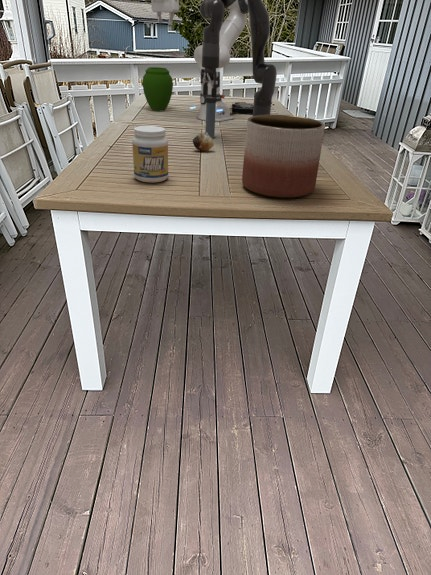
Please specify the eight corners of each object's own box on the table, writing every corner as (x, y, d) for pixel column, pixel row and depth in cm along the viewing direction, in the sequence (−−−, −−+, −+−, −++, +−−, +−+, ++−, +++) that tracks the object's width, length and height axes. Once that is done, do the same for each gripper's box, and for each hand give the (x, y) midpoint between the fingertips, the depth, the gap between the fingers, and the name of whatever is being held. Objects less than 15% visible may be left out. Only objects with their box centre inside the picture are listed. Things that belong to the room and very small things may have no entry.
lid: (218, 101, 200) (218, 97, 199) (213, 103, 195) (214, 98, 194) (208, 100, 201) (208, 96, 200) (203, 102, 197) (203, 97, 196)
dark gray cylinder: (215, 137, 208) (217, 98, 199) (212, 138, 205) (213, 99, 195) (207, 136, 210) (208, 97, 200) (203, 137, 206) (204, 98, 196)
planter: (325, 200, 135) (339, 130, 123) (251, 201, 131) (257, 128, 119) (299, 176, 156) (309, 114, 144) (234, 177, 152) (239, 113, 140)
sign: (232, 108, 269) (231, 101, 294) (232, 113, 270) (230, 106, 296) (261, 109, 269) (257, 102, 295) (260, 114, 271) (257, 107, 296)
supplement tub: (139, 184, 140) (136, 133, 131) (130, 174, 149) (127, 125, 140) (173, 181, 144) (172, 131, 135) (162, 172, 153) (161, 124, 144)
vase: (143, 107, 275) (142, 66, 262) (173, 108, 277) (172, 67, 264) (142, 112, 259) (140, 68, 246) (173, 113, 261) (173, 70, 248)
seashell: (212, 149, 186) (213, 131, 181) (214, 152, 181) (215, 133, 177) (191, 149, 184) (192, 130, 180) (193, 152, 180) (193, 133, 175)
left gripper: (182, -11, 195) (182, 24, 203) (159, -9, 209) (160, 23, 216) (171, -12, 192) (171, 23, 199) (148, -11, 205) (149, 22, 213)
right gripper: (226, 56, 173) (224, 98, 182) (210, 54, 184) (209, 93, 192) (210, 56, 170) (209, 98, 179) (195, 54, 181) (195, 94, 189)
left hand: (165, 23), depth 208 cm, fingers open, 8 cm apart
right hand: (209, 96), depth 185 cm, fingers open, 8 cm apart
